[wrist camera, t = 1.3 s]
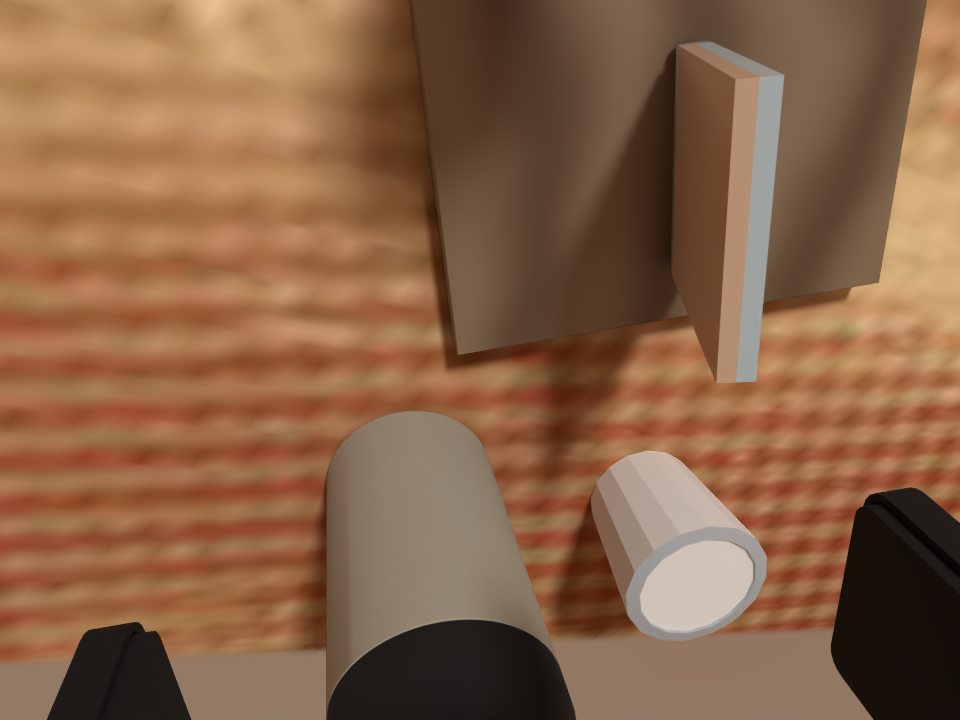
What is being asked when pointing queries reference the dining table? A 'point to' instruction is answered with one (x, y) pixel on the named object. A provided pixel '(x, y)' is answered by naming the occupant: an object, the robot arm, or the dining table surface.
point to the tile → (723, 199)
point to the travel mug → (429, 584)
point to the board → (644, 150)
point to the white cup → (674, 548)
